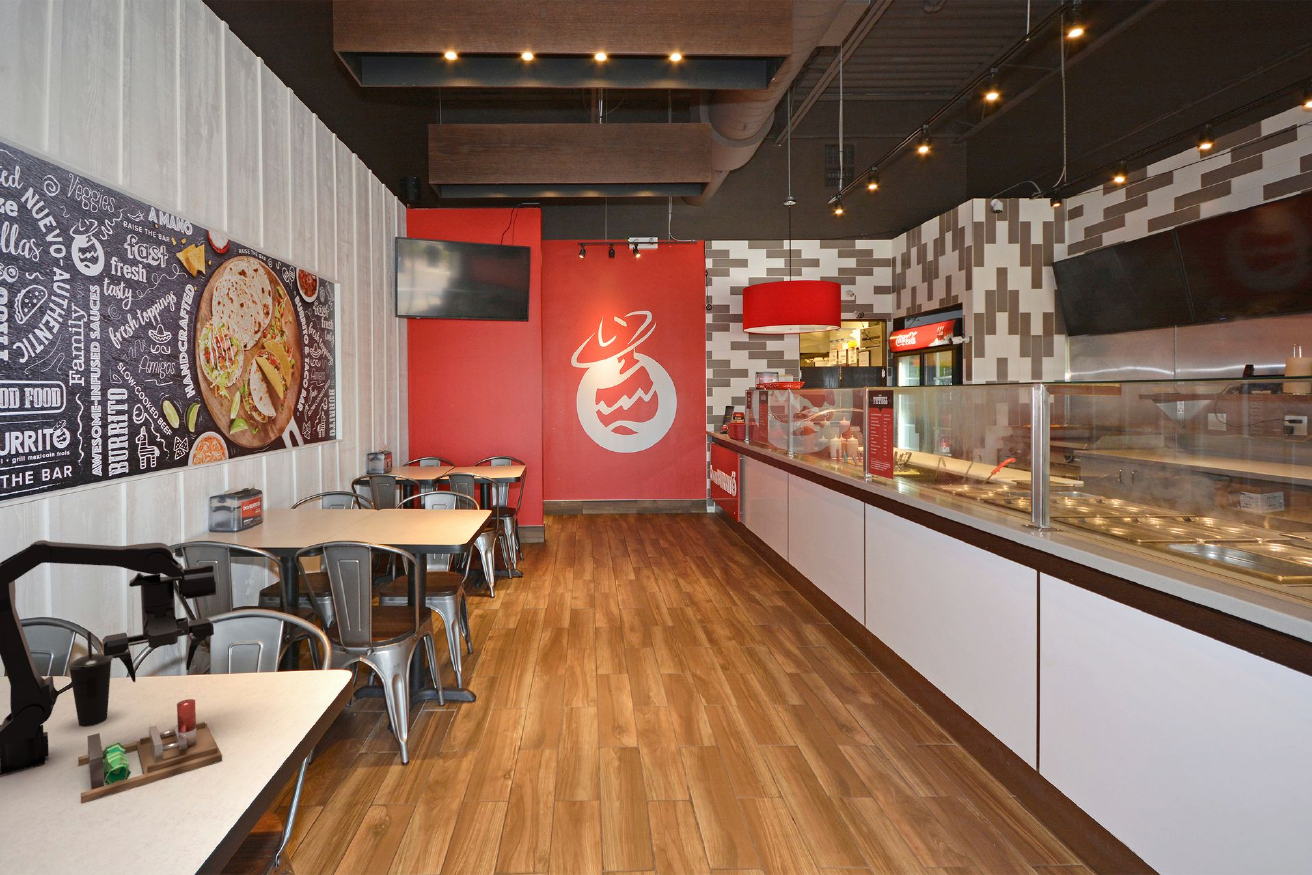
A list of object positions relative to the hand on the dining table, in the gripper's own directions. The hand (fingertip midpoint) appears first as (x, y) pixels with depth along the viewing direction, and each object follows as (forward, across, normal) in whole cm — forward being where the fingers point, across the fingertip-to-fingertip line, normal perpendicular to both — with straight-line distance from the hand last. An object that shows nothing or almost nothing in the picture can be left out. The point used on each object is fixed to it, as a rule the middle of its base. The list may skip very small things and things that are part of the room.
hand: (161, 675), depth 144 cm
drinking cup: (+12, -11, +16) cm, 23 cm away
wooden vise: (+12, -4, -14) cm, 19 cm away
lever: (+11, 0, -14) cm, 17 cm away
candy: (+12, -9, -14) cm, 21 cm away
